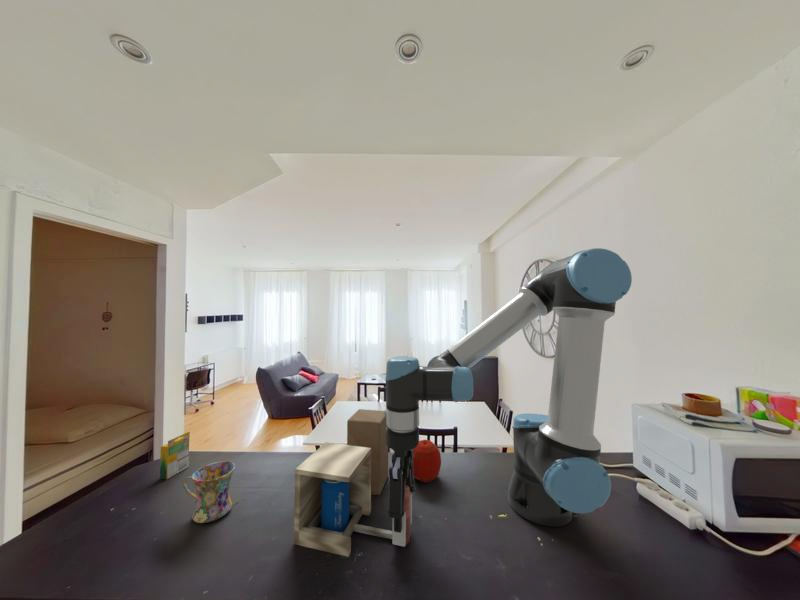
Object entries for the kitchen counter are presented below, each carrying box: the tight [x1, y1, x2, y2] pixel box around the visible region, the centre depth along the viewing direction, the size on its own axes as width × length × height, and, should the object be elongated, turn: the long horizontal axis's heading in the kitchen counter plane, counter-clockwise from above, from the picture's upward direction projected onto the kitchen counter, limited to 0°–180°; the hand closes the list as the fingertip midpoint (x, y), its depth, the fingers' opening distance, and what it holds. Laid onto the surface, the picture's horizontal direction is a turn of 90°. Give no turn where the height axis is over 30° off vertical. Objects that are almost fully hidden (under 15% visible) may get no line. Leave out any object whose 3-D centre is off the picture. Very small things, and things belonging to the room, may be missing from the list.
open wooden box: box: [293, 442, 372, 558], centre depth 66 cm, size 13×13×16 cm
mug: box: [182, 460, 236, 524], centre depth 71 cm, size 12×9×11 cm
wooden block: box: [346, 408, 389, 496], centre depth 83 cm, size 10×10×20 cm
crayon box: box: [159, 431, 191, 480], centre depth 89 cm, size 7×3×12 cm, turn 169°
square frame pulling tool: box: [306, 485, 411, 546], centre depth 65 cm, size 23×10×11 cm, turn 76°
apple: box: [413, 439, 442, 483], centre depth 86 cm, size 10×10×12 cm
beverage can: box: [320, 478, 350, 533], centre depth 66 cm, size 6×6×12 cm
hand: (402, 532), depth 62 cm, fingers open, 6 cm apart
